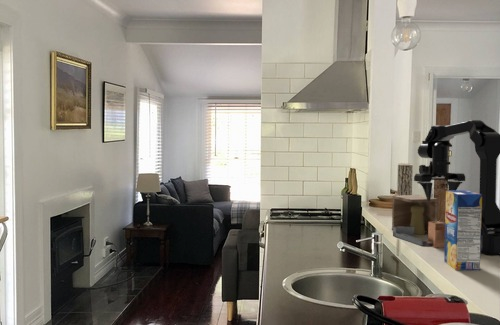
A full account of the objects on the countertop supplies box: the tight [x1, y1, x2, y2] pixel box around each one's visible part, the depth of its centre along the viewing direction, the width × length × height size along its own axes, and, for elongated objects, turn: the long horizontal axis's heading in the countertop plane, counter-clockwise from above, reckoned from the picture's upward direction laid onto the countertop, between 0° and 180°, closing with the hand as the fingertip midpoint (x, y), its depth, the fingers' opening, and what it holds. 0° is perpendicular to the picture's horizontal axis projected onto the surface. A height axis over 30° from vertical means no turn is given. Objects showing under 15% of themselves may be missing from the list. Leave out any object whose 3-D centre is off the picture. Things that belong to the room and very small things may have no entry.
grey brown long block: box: [392, 220, 445, 249], centre depth 198 cm, size 23×9×8 cm, turn 16°
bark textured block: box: [396, 162, 414, 196], centre depth 257 cm, size 7×7×25 cm
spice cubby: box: [391, 194, 439, 233], centre depth 215 cm, size 14×12×14 cm
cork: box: [410, 205, 426, 235], centre depth 214 cm, size 6×6×11 cm
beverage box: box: [443, 189, 482, 271], centre depth 160 cm, size 7×11×22 cm, turn 177°
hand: (439, 200), depth 203 cm, fingers open, 9 cm apart
